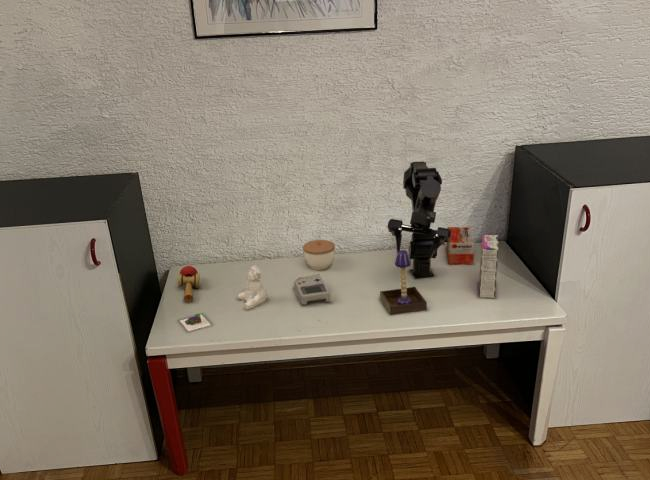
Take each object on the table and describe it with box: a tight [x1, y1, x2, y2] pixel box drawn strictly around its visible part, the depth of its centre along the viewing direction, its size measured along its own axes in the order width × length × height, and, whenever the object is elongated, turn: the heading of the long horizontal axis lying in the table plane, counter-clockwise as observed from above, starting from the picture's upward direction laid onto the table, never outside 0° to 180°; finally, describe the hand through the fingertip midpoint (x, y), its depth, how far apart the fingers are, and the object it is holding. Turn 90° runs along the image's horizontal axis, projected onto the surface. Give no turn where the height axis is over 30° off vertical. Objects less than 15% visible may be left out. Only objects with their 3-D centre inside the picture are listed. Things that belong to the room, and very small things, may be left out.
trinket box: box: [302, 239, 336, 271], centre depth 236 cm, size 11×11×9 cm
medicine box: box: [446, 226, 475, 265], centre depth 238 cm, size 15×8×8 cm, turn 174°
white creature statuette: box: [238, 264, 268, 310], centre depth 214 cm, size 10×9×12 cm
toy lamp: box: [394, 249, 412, 305], centre depth 206 cm, size 5×5×17 cm
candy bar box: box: [478, 234, 499, 299], centre depth 211 cm, size 11×5×16 cm, turn 168°
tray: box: [379, 286, 428, 316], centre depth 210 cm, size 11×11×3 cm
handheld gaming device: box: [293, 273, 331, 306], centre depth 218 cm, size 9×15×4 cm, turn 12°
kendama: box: [177, 265, 201, 303], centre depth 225 cm, size 8×6×18 cm
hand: (413, 258), depth 207 cm, fingers open, 9 cm apart
